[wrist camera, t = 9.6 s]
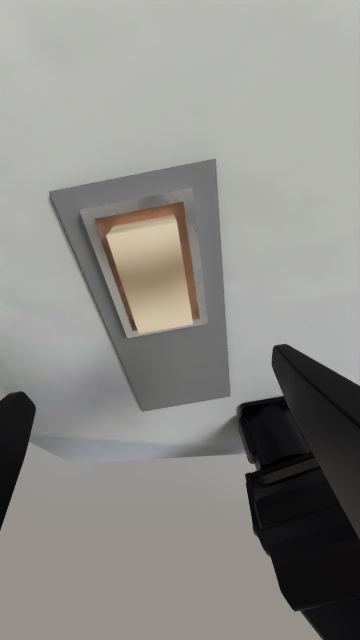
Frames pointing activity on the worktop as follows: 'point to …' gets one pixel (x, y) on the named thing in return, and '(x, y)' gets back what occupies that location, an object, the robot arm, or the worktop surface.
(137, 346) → the mat
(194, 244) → the frame
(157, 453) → the worktop surface
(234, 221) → the worktop surface
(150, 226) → the block
